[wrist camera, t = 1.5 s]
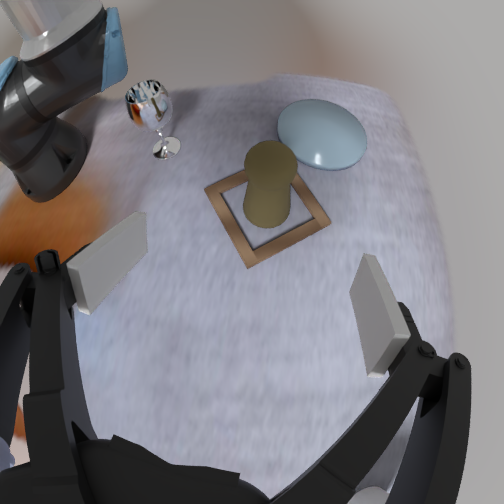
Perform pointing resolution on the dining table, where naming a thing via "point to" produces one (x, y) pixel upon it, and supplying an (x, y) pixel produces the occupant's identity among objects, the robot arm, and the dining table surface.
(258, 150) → the cork
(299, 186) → the walnut frame
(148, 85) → the wineglass
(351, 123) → the saucer
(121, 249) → the robot arm
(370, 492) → the dixie cup
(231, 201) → the dining table surface
